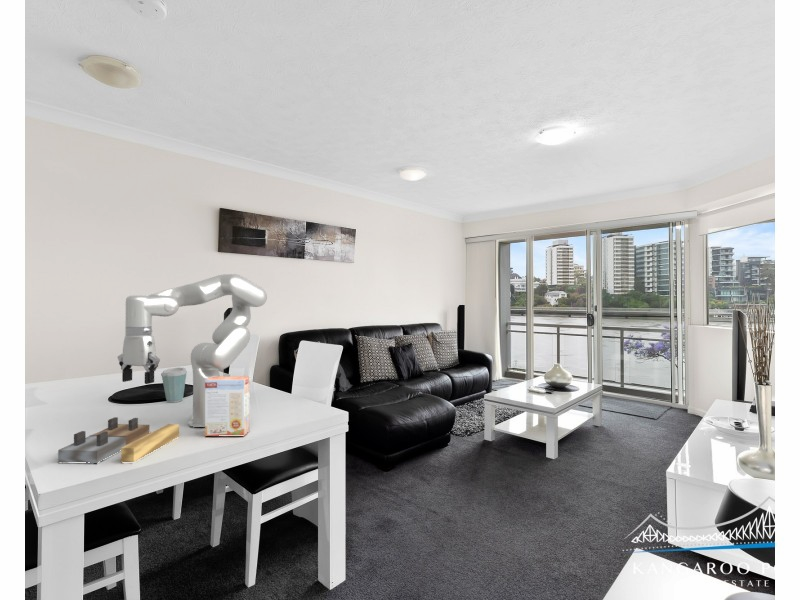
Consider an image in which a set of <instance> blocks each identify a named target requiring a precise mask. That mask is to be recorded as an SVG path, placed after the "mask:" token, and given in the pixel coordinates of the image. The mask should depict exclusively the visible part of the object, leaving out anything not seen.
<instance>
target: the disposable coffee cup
mask: <svg viewBox="0 0 800 600" xmlns="http://www.w3.org/2000/svg"><path fill="white" fill-rule="evenodd" d="M187 373H188V371H187V370H186V368H185V367H172V368H171V367H170V368H167V369H165V370H163V371H162V372H161V374H160V375H161V376H160V377H161V379H162V385H163V388H164V394H165V395H164V396H165V400H166V401H167V403H178V402H182V401H183V399H184V393H185V386H186V379H187Z"/></svg>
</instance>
